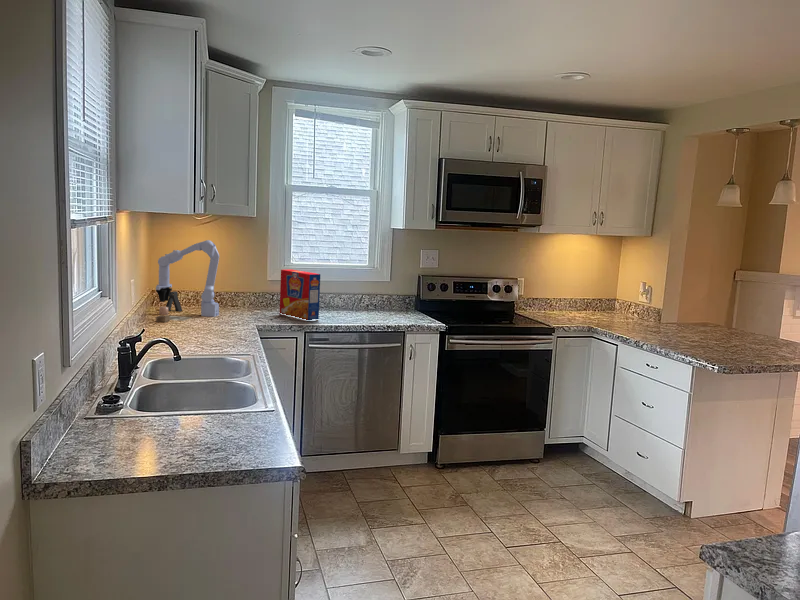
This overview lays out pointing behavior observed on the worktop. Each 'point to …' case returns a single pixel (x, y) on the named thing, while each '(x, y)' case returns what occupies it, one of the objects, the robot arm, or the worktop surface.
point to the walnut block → (162, 318)
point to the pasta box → (300, 294)
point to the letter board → (178, 318)
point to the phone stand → (176, 301)
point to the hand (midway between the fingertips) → (163, 301)
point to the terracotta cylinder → (163, 310)
